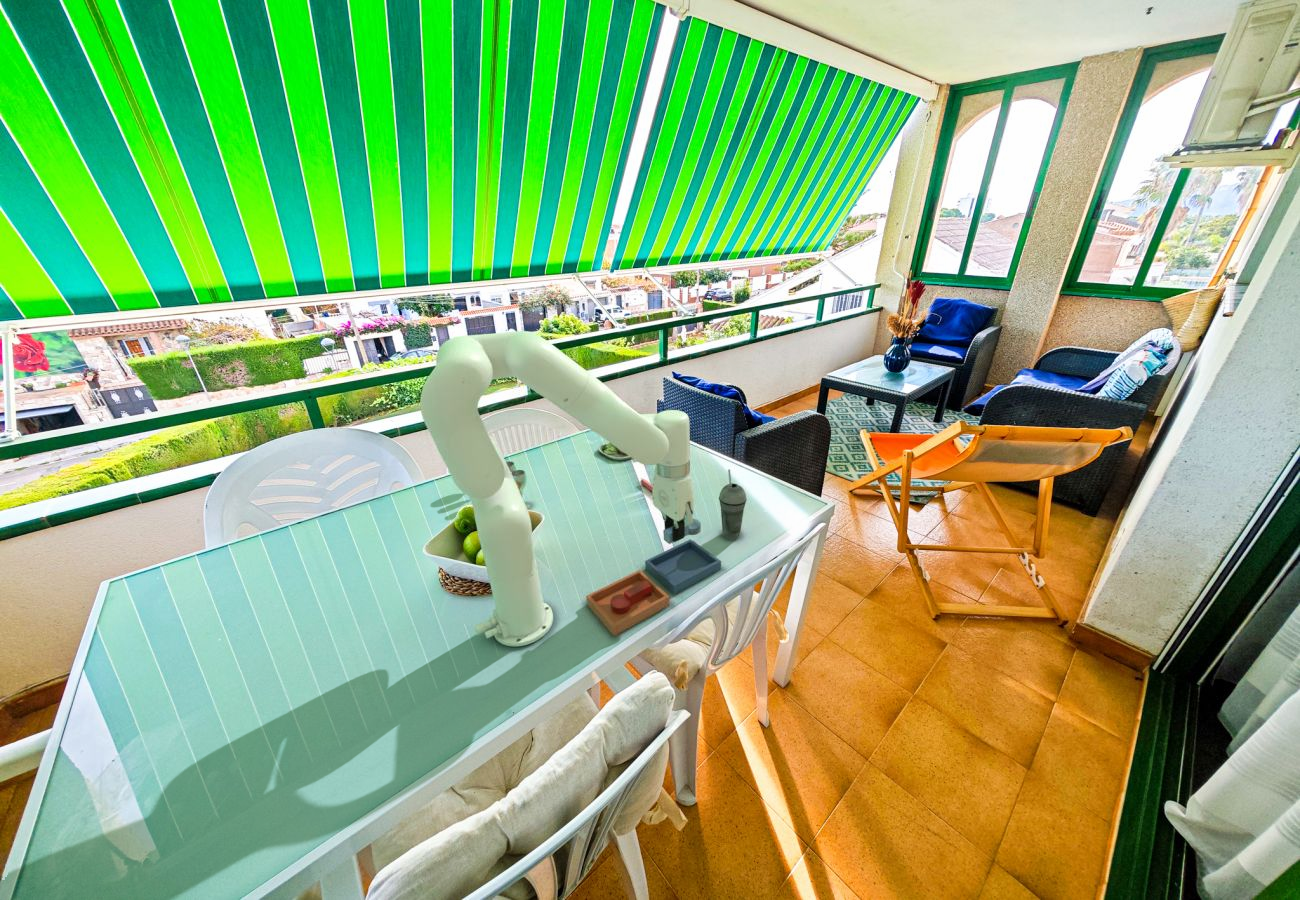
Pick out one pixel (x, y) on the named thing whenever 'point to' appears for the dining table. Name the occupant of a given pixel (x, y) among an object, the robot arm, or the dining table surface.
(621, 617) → the terracotta tray
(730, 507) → the beverage cup
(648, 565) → the slate tray
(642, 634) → the dining table surface
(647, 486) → the red bar
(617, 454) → the salad plate
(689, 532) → the blue-grey rounded block
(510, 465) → the goblet set
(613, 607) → the red spoon
